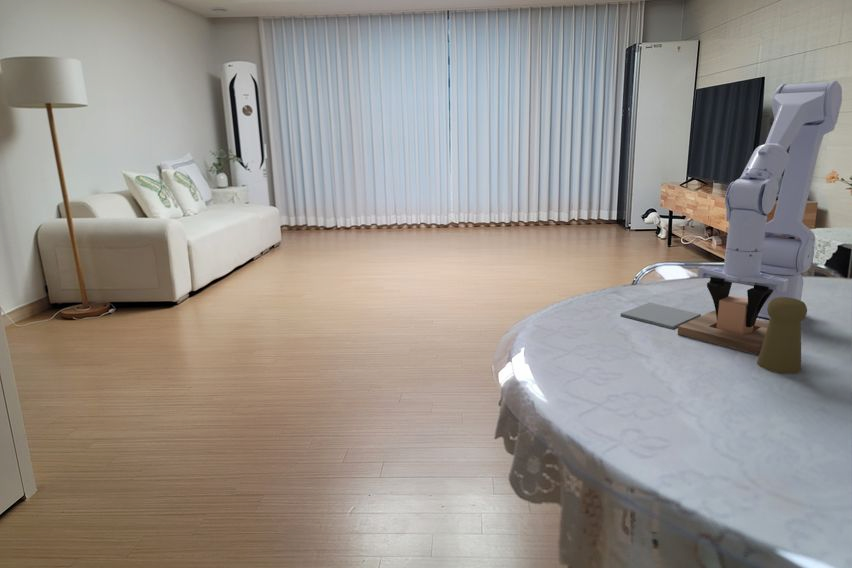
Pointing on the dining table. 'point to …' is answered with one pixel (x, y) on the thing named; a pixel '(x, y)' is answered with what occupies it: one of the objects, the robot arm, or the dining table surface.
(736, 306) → the block
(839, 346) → the dining table surface
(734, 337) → the holder
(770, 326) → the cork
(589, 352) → the dining table surface
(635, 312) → the mat
